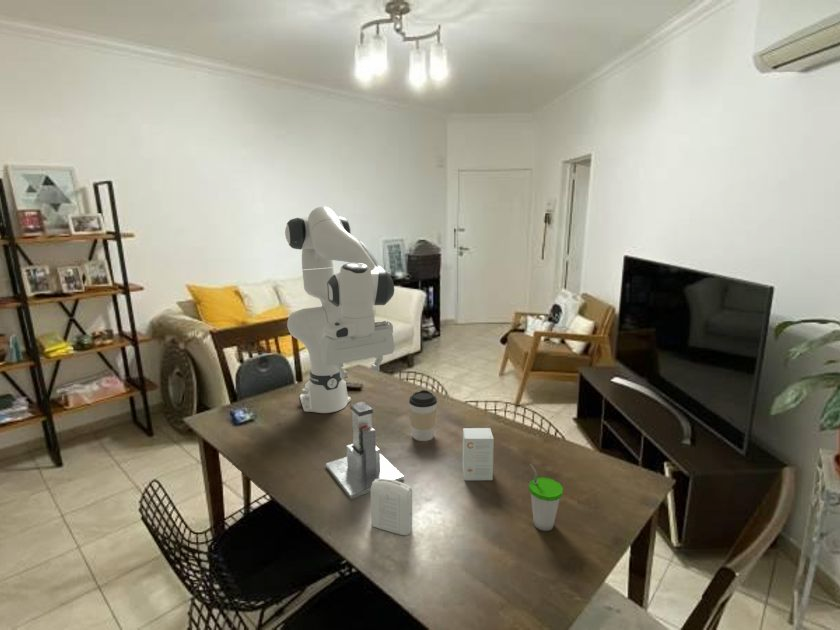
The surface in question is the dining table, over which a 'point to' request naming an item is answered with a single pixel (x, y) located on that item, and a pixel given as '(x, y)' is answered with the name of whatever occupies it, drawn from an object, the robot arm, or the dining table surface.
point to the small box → (478, 454)
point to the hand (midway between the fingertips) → (360, 374)
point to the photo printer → (391, 506)
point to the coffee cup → (423, 415)
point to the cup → (544, 501)
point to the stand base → (362, 467)
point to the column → (360, 423)
